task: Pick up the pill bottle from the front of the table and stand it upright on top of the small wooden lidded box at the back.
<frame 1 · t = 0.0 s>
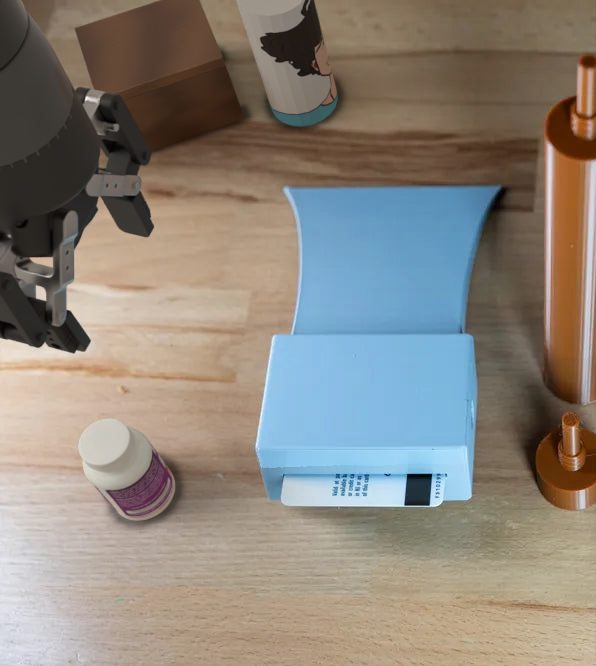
hand: (107, 286, 72), 29 cm above the worktop, tool pointing down, fingers open, 8 cm apart
pill bottle: (145, 493, 97), on the worktop
cup: (305, 104, 118), on the worktop
wooden lidded box: (175, 107, 119), on the worktop
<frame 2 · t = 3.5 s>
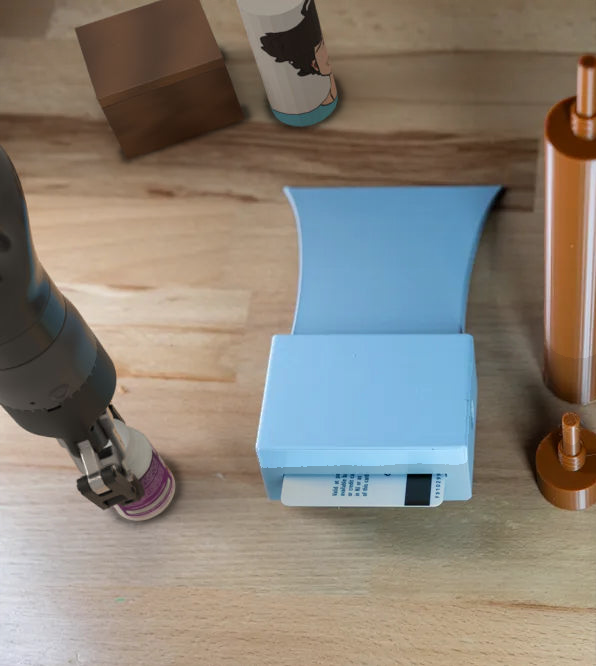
hand: (122, 464, 92), 5 cm above the worktop, tool pointing down, fingers closed on pill bottle, 5 cm apart
pill bottle: (145, 493, 97), on the worktop, touching gripper
everything else where it was.
when the fingers open (14 cm above the worktop, at t = 11.1 s): pill bottle stays where it is, resting on wooden lidded box.
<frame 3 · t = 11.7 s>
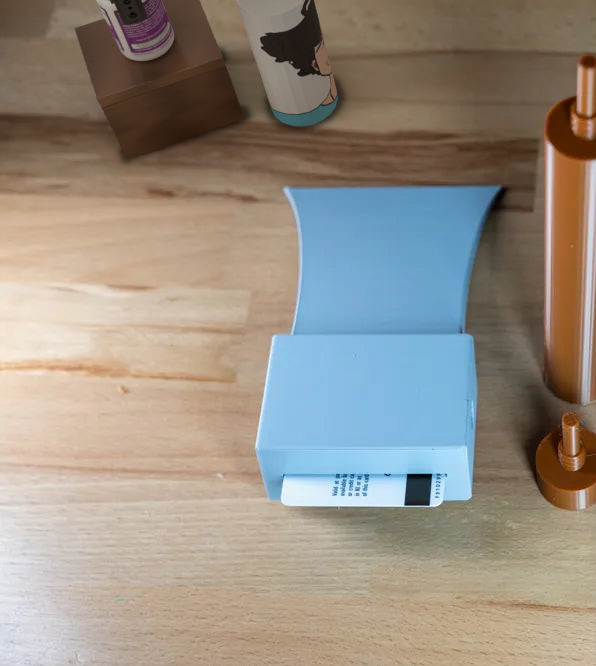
pill bottle: (148, 43, 111), point 9 cm above the worktop, touching wooden lidded box
everything else where it was.
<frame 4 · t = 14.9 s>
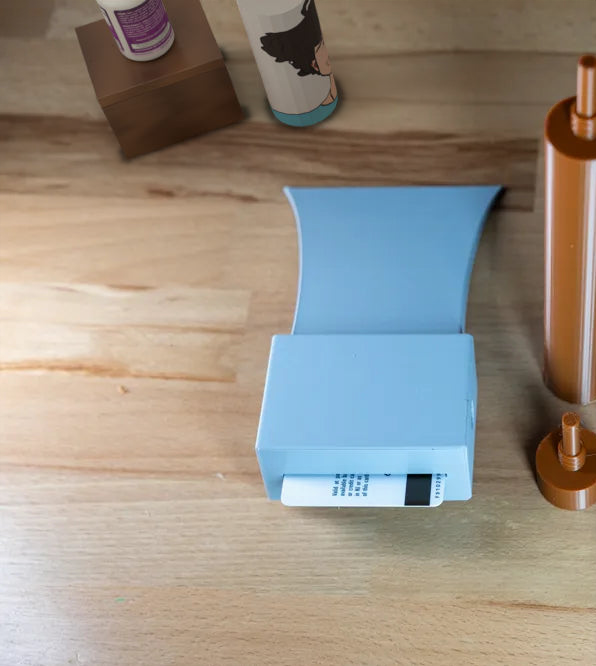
nothing on the worktop moved.
at the end: pill bottle inside the target area on the wooden lidded box (0.0 cm from its centre), point 8.8 cm above the wooden lidded box's base; pill bottle tilted 0°; the gripper is holding nothing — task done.
